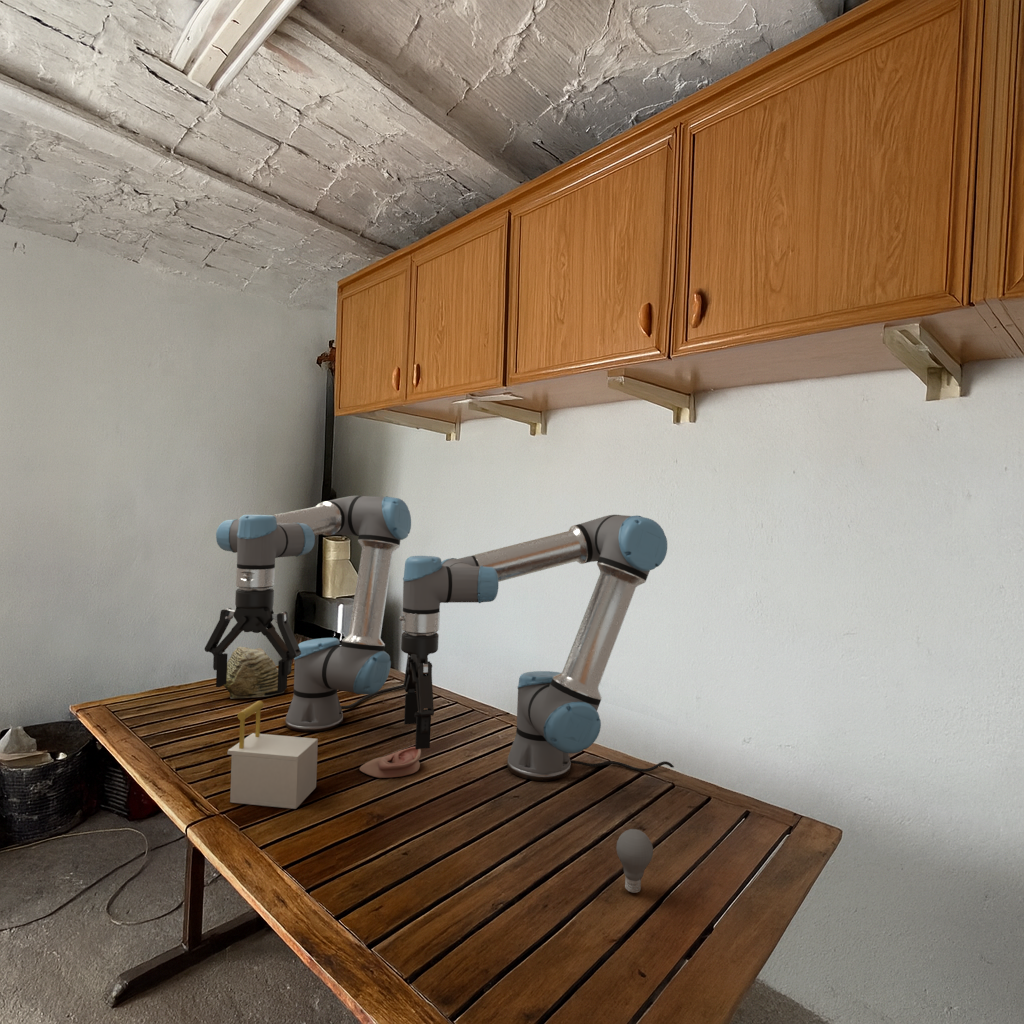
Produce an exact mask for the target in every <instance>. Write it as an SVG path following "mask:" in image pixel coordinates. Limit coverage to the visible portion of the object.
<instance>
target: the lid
mask: <svg viewBox="0 0 1024 1024" xmlns="http://www.w3.org/2000/svg"><path fill="white" fill-rule="evenodd" d="M264 705H265V704H264V702H263V701H262V700H257V701H255V702H253V703H252V704H250V705H249V706H247V707H246V708H244V709H243V710H241V711H239V712H238V713H237V716H236V717H237V718H238V720H239V739H238V740H239V741H238V743H236V744H235V745H233V746H232V747H230V748H228V750H227V756H228V755H230V756H232V755H239V756H250V757H261V758H272V759H283V760H294V761H298V760H299V759H300V758H301V757H302V756H304V755H305V754H306V753H307V752H308V751H309V750H310V749H311V748H312V747H313V746H315V745H316V744H317V743H319V739H318V738H314V737H313V738H312V737H304V736H303V737H301V736H291V735H279V734H268V733H261V714H262V713H261V710H262V709H263V708H264ZM254 714H255V732H252V733H250V734H249V735H247V736H246V737H245V729H246V728H245V727H246V726H245V725H246V719H247V718H249V717H251V716H252V715H254Z"/></svg>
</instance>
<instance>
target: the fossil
mask: <svg viewBox="0 0 1024 1024" xmlns="http://www.w3.org/2000/svg"><path fill="white" fill-rule="evenodd" d="M223 687H224V688H225V690H226V691H228V693H229V698H230V699H250V698H264V697H271V696H275V695H281V694H284V693H285V691H286V690H287V689H285V690H284V691H282V692H277V689H278V667H277V665H276V663H275V662H274V660H273V659H272V658H271V657H270V656H269V655H268V654H267V653H266V652H265V650H264V649H263V648H260V647H258V648H251V647H247V646H246V647H245V646H238V647H237V648H236V649H235V650H233V651H232V653H231V656H230V657H229V659H227V682H226V684H225V685H223Z"/></svg>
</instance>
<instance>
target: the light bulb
mask: <svg viewBox="0 0 1024 1024" xmlns="http://www.w3.org/2000/svg"><path fill="white" fill-rule="evenodd" d="M615 849H616V854H617V857H618V859H619V861H620V863H621V865H622V867H623V873H624V874H623V875H624V876H625V878H624V888H625V890H627V891H628V892H630V893H634V894H635V893H639V892H640V891H641V889H642V887H641V886H642V879H643V877H644V875H645V871H646V868H647V867H648V866H649V864H650V863H651V861H652V859H653V855H654V847H653V843H652V841H651V838H649V836H648V835H647V834H646V833H645V832H643V831H642V830H641V829H636V828H629V829H627V830H625V831H623V832H622V833H621V834H620V835H619V837H618V839H617V841H616V847H615Z"/></svg>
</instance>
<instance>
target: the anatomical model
mask: <svg viewBox="0 0 1024 1024" xmlns="http://www.w3.org/2000/svg"><path fill="white" fill-rule="evenodd" d="M421 755H422V749H416V748H415V746H411V747H407V748H403V749H401V750H397V751H395V752H392V753H390V754H387V755H384V756H380V757H377V758H373V759H371V760H368V761H367V762H365V763H364V764H362V765H361V766H360V767H359V771H360V772H362V773H363V774H366V775H368V776H370V777H374V778H380V779H382V778H383V779H385V778H386V779H387V778H398V777H399V778H400V777H404V776H409V775H412V774H414V773H417V772H418V771H419V769H420V768H421V763H420V761H419V760H420V758H421Z"/></svg>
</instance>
